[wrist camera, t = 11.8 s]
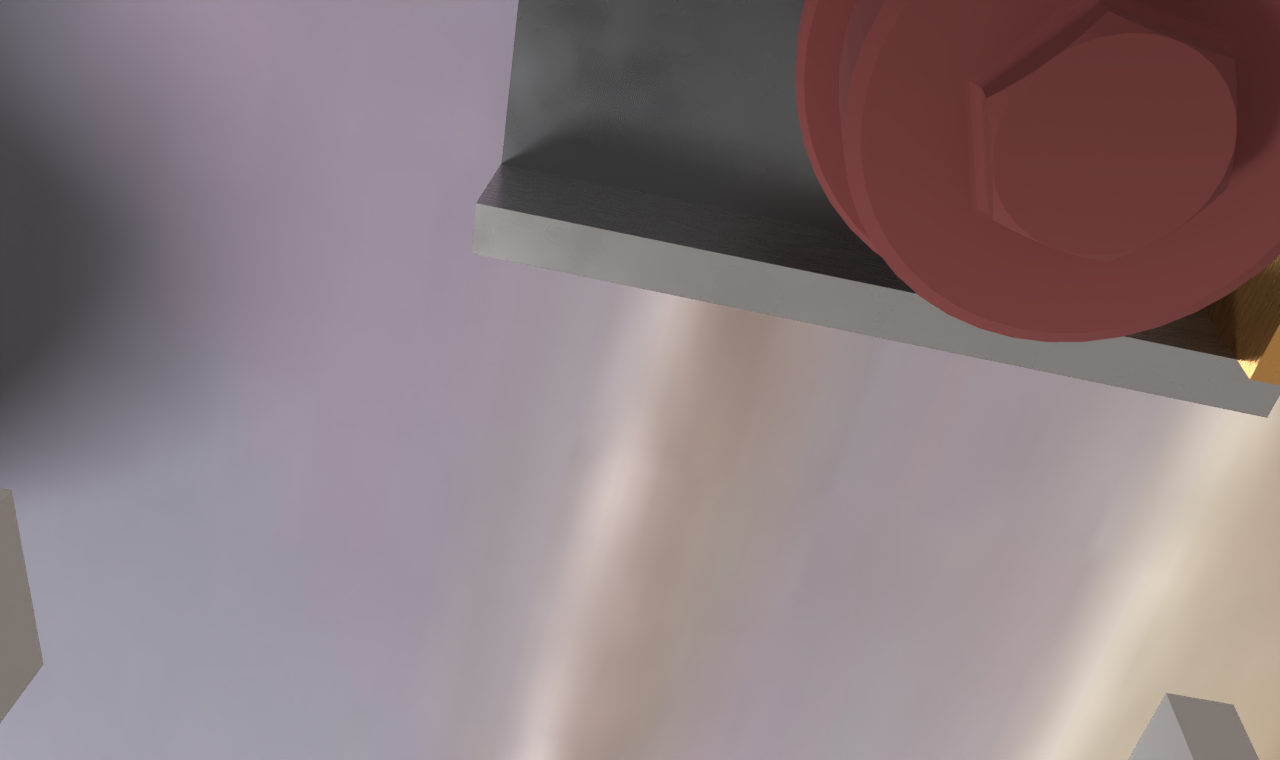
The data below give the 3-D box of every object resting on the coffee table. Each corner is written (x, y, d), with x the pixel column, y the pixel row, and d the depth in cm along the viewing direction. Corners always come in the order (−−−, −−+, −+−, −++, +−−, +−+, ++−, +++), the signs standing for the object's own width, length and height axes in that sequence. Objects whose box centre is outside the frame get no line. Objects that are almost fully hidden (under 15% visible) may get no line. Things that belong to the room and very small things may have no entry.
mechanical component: (740, 95, 31) (899, -315, 25) (1077, 219, 31) (1300, -156, 26) (708, 305, 20) (966, -318, 15) (1215, 484, 21) (1636, -52, 16)
